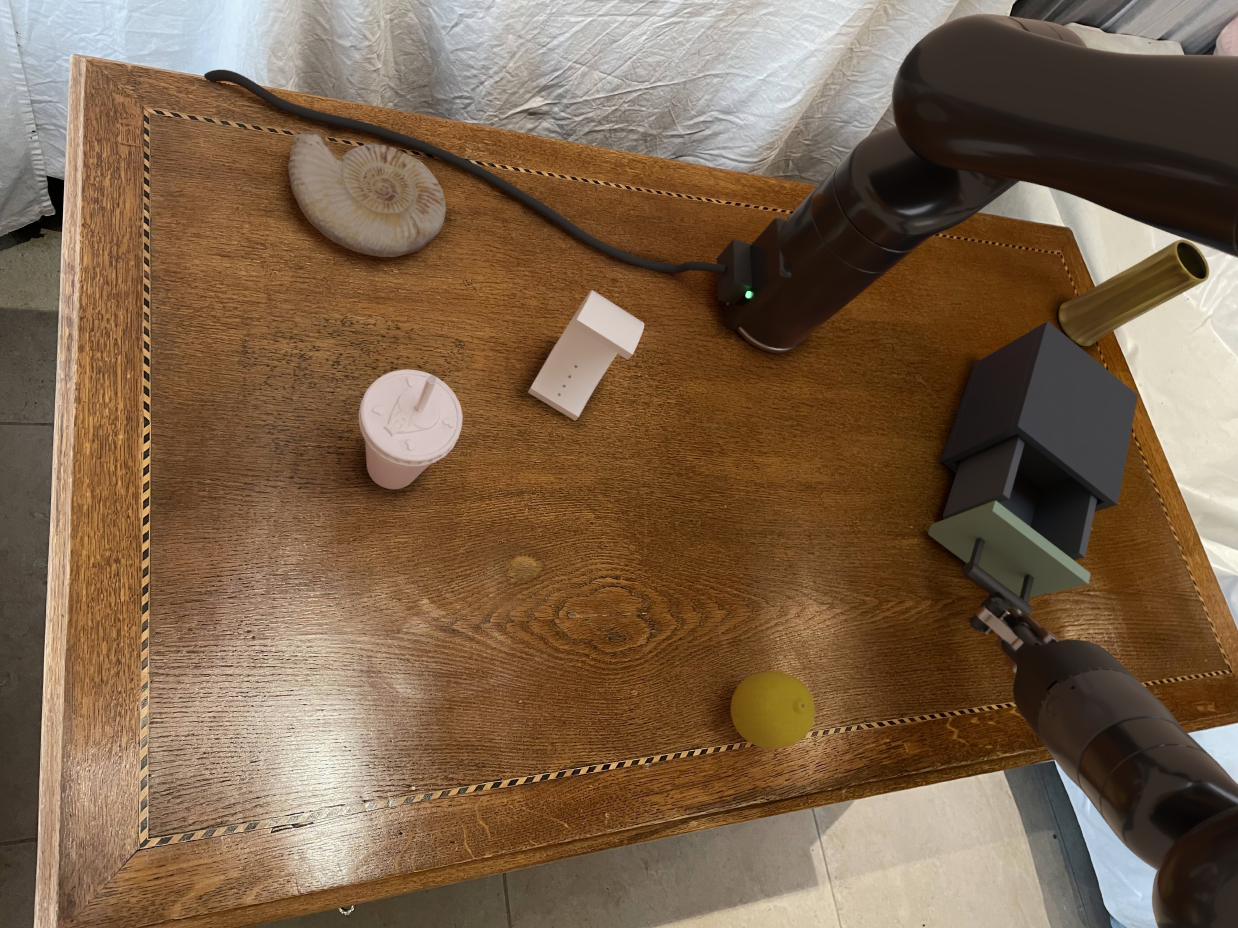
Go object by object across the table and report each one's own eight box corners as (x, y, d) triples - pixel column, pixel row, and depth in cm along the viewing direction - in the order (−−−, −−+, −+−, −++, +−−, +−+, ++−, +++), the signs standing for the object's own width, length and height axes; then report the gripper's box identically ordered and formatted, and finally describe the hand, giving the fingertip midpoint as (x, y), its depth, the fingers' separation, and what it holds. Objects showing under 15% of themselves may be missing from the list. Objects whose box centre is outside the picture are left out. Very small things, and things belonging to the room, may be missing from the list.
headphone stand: (527, 392, 64) (576, 319, 54) (557, 339, 67) (609, 260, 57) (575, 421, 65) (632, 354, 55) (603, 368, 68) (663, 295, 58)
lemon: (733, 763, 60) (793, 762, 53) (701, 695, 61) (755, 686, 54) (785, 729, 63) (848, 724, 56) (753, 664, 64) (812, 651, 57)
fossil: (287, 241, 58) (288, 108, 58) (287, 260, 63) (287, 136, 63) (452, 258, 63) (452, 135, 63) (440, 275, 67) (440, 160, 68)
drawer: (1007, 637, 74) (1081, 624, 67) (915, 570, 72) (981, 549, 66) (1043, 494, 83) (1111, 469, 76) (961, 431, 81) (1023, 400, 74)
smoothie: (454, 471, 60) (500, 395, 47) (388, 524, 56) (420, 457, 44) (396, 409, 59) (428, 317, 47) (327, 458, 56) (342, 373, 44)
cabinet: (1032, 531, 81) (1118, 504, 73) (940, 461, 80) (1017, 425, 71) (1057, 430, 89) (1138, 394, 80) (973, 363, 87) (1047, 320, 79)
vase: (1090, 311, 99) (1206, 245, 87) (1097, 353, 96) (1218, 291, 84) (1054, 297, 97) (1167, 228, 85) (1060, 339, 95) (1178, 274, 82)
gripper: (1212, 736, 53) (1080, 614, 69) (1067, 627, 51) (967, 528, 67) (1126, 809, 55) (1018, 673, 71) (984, 706, 53) (907, 591, 69)
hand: (993, 603), depth 69 cm, fingers closed
